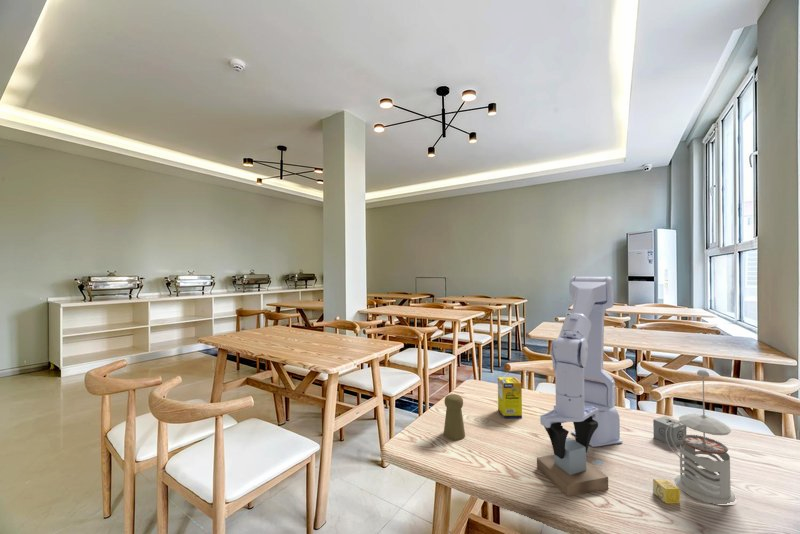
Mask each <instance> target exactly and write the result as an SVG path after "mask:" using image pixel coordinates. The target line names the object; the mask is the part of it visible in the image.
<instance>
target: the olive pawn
mask: <svg viewBox="0 0 800 534" xmlns="http://www.w3.org/2000/svg"><path fill="white" fill-rule="evenodd" d="M444 405H445V408H446V410H445V419H444V420H445V421H444V428H443V437H444V436H445V439H447V440H450V441H463V440H464V439H465V438H466V431H465V424H464V423H465V422H464V417H463V409H462V408H463V407H464V399H463V397H462V396H461V395H459V394H456V393H450V394H447V395H445V398H444Z"/></svg>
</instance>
